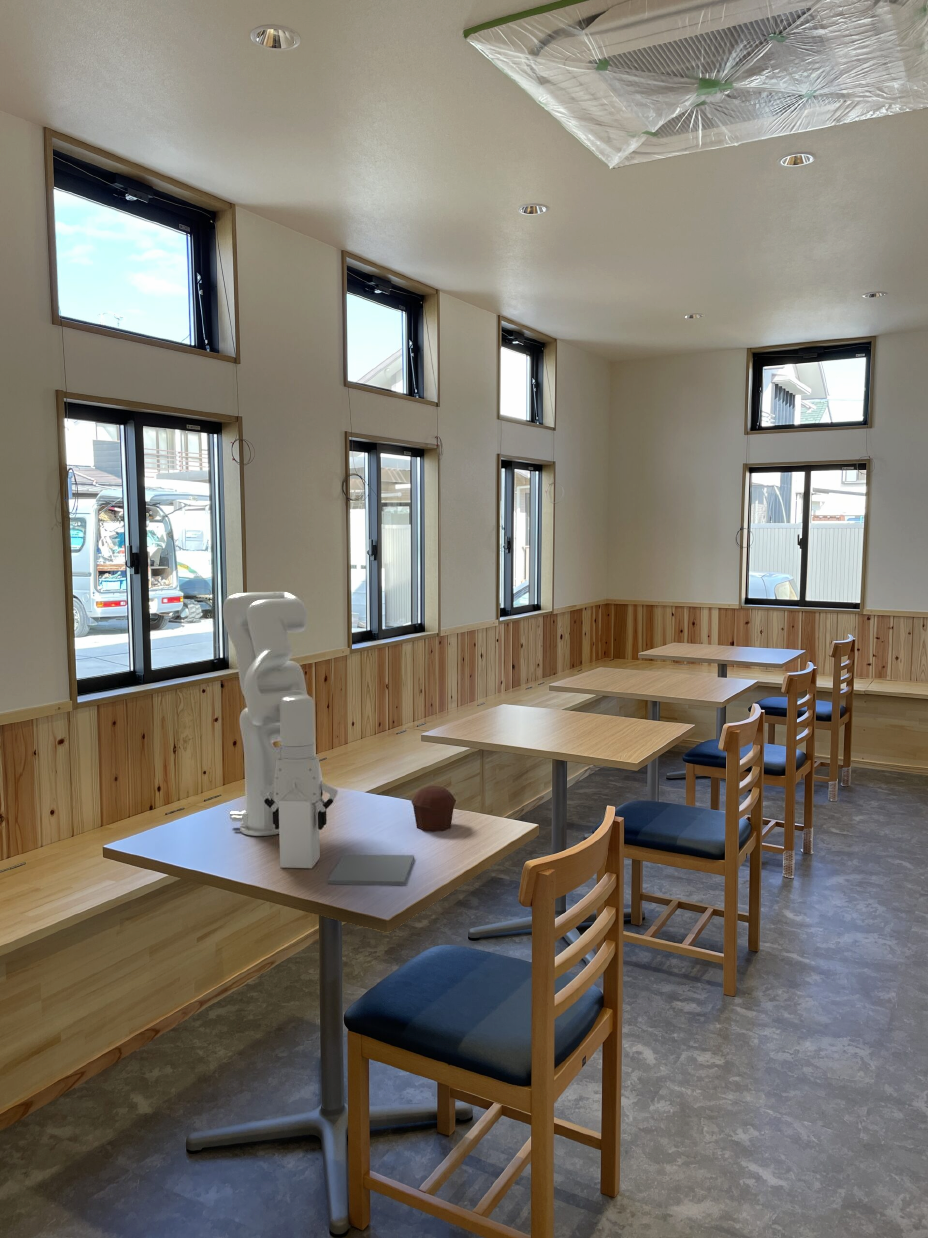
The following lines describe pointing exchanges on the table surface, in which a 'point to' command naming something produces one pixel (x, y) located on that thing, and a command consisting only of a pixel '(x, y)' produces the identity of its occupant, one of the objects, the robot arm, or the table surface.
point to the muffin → (433, 808)
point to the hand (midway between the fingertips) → (299, 827)
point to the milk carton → (298, 833)
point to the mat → (372, 869)
